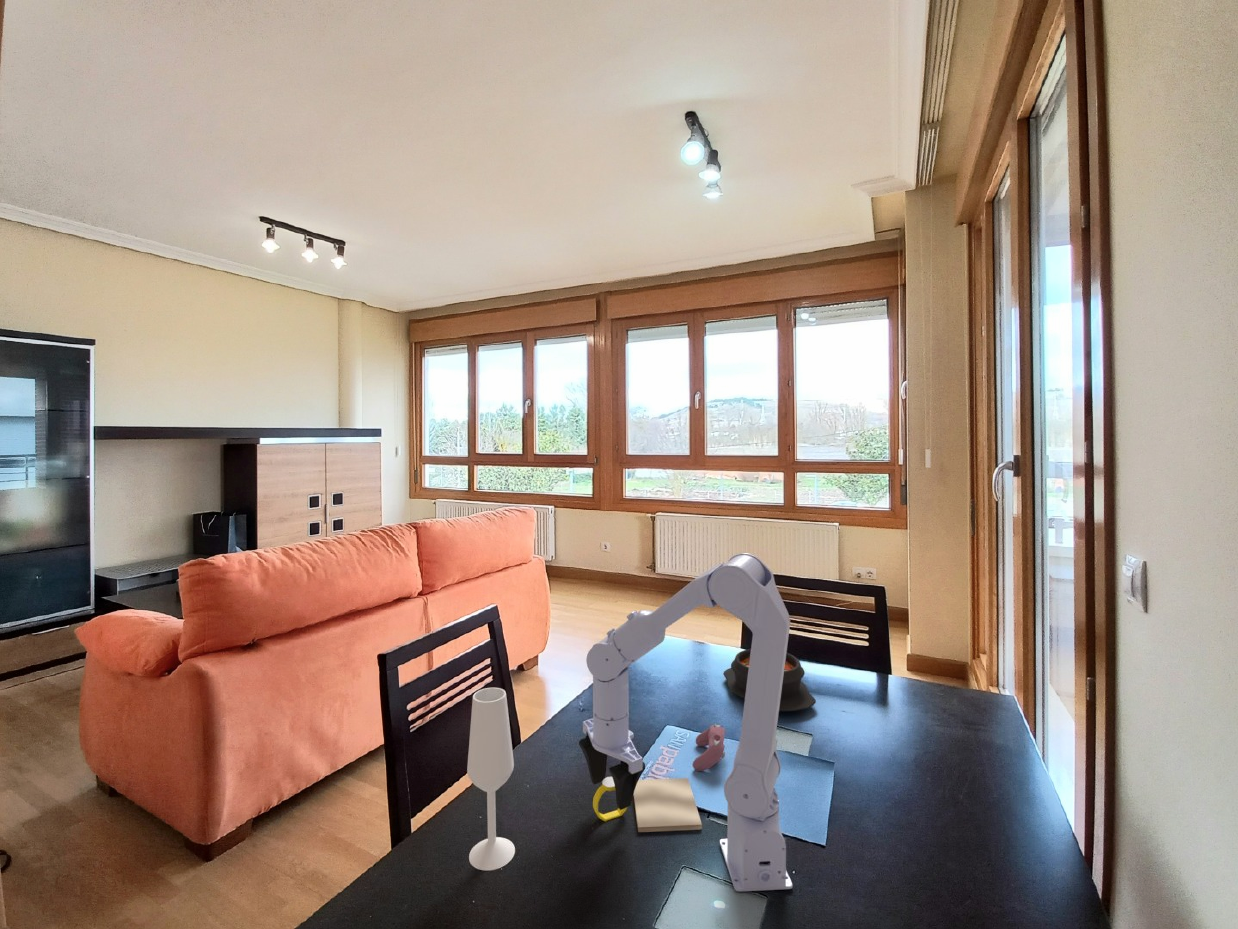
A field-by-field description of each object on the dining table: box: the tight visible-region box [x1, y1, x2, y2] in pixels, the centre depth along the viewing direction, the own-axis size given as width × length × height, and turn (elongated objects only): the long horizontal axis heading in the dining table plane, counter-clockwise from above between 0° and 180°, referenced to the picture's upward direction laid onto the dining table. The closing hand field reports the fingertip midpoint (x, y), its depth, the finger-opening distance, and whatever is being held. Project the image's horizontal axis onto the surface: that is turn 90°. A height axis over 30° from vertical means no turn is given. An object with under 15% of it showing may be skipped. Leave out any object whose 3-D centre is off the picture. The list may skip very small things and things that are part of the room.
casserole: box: [723, 648, 817, 712], centre depth 134 cm, size 25×19×8 cm
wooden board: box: [633, 777, 703, 833], centre depth 94 cm, size 12×10×1 cm
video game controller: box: [692, 723, 726, 772], centre depth 107 cm, size 10×5×7 cm, turn 169°
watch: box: [592, 776, 628, 822], centre depth 91 cm, size 6×3×6 cm, turn 115°
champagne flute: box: [466, 687, 516, 871], centre depth 83 cm, size 7×7×24 cm
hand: (610, 793), depth 91 cm, fingers open, 7 cm apart
